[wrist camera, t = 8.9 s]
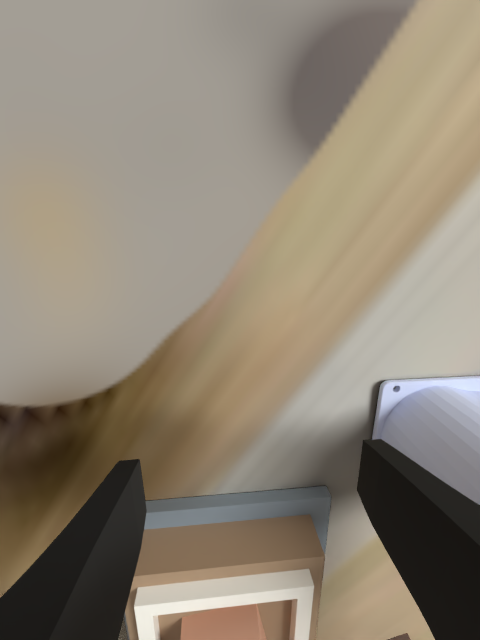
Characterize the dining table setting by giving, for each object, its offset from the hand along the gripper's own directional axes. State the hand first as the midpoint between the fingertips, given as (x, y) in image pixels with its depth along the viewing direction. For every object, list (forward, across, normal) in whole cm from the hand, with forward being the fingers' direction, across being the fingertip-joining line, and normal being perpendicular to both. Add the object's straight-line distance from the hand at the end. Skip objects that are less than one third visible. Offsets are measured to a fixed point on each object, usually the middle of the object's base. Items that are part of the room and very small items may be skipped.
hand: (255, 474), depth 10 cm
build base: (+10, +1, +19) cm, 22 cm away
